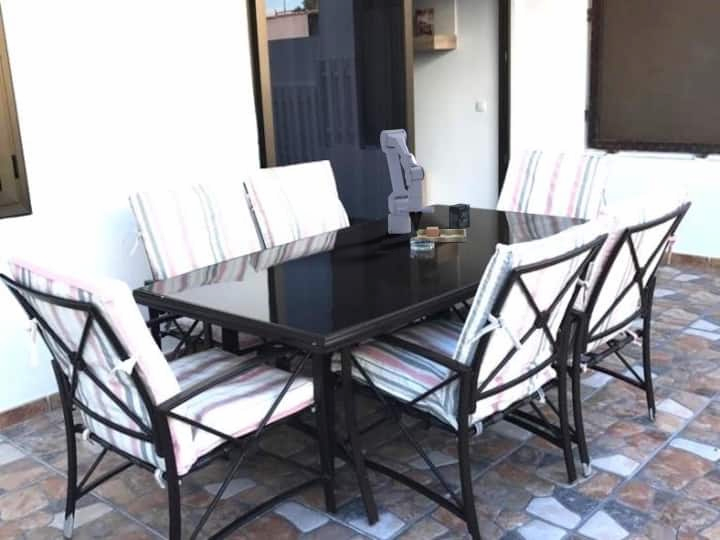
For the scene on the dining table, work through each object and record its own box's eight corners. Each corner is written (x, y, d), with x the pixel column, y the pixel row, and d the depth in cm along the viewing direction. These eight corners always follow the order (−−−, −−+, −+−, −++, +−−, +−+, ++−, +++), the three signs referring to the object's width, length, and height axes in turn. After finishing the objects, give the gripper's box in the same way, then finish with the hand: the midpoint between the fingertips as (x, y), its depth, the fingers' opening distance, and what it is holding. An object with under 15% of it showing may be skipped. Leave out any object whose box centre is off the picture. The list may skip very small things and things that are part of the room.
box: (459, 231, 312) (458, 206, 309) (448, 230, 316) (448, 205, 313) (470, 228, 317) (470, 204, 314) (460, 226, 321) (459, 203, 318)
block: (426, 239, 294) (426, 229, 293) (427, 236, 298) (427, 227, 297) (438, 238, 293) (437, 229, 292) (438, 236, 298) (438, 226, 297)
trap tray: (414, 245, 290) (414, 237, 289) (416, 236, 305) (416, 229, 304) (466, 244, 287) (465, 237, 286) (466, 236, 302) (466, 228, 301)
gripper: (396, 199, 290) (397, 232, 293) (433, 198, 288) (434, 232, 291) (397, 196, 297) (399, 229, 300) (433, 195, 294) (434, 228, 298)
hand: (416, 230), depth 296 cm, fingers closed
